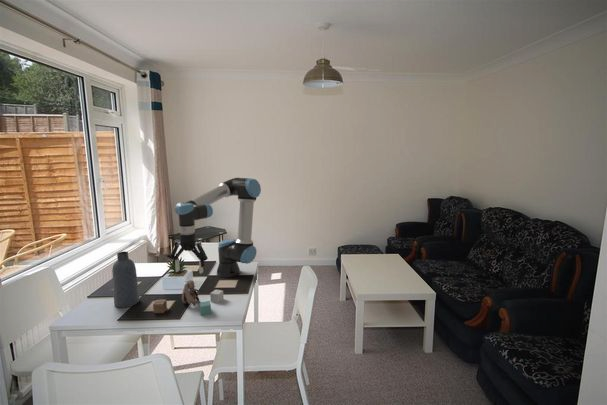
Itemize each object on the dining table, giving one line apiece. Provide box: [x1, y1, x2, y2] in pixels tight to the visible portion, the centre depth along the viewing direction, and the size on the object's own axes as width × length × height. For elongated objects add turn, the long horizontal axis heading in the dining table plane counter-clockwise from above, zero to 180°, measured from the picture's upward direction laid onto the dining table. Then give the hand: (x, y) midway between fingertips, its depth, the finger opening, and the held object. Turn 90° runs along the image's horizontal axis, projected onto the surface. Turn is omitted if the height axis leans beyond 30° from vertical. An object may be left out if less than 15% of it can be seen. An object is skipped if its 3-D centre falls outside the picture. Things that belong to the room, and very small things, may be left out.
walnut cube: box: [152, 299, 168, 314], centre depth 168 cm, size 5×5×5 cm
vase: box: [111, 251, 141, 309], centre depth 175 cm, size 12×12×28 cm
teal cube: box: [199, 300, 212, 317], centre depth 166 cm, size 5×5×5 cm
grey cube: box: [209, 289, 224, 304], centre depth 180 cm, size 5×5×5 cm
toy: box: [181, 279, 200, 306], centre depth 175 cm, size 9×8×15 cm
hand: (189, 272), depth 173 cm, fingers open, 13 cm apart
